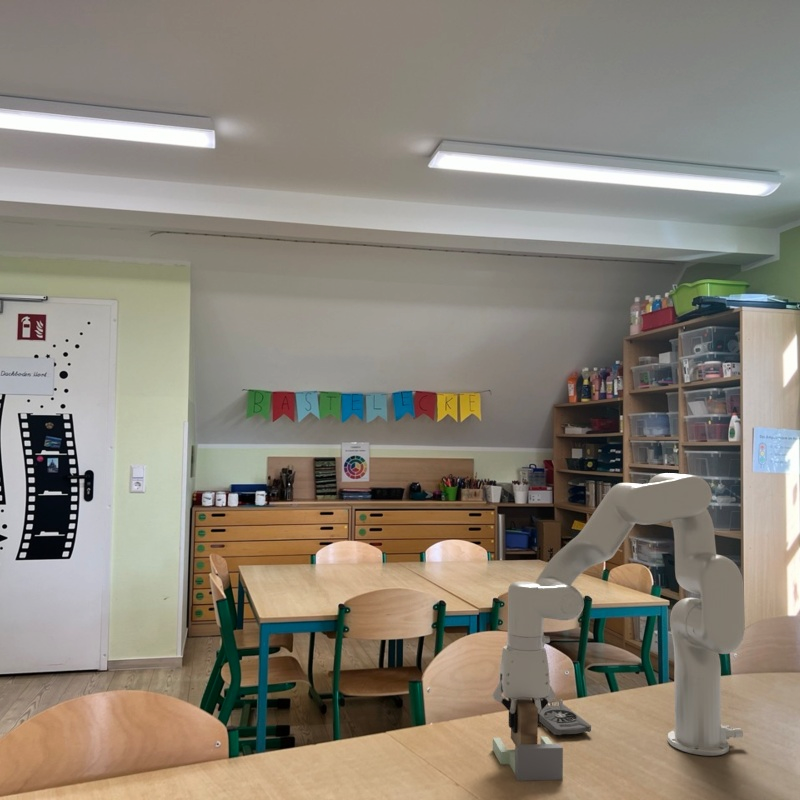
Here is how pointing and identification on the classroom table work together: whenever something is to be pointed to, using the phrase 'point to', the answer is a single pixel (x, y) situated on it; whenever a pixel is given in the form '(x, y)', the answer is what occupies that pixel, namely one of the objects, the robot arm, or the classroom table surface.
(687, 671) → the robot arm
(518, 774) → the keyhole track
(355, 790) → the classroom table surface
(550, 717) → the graphics card
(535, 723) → the brown wooden block
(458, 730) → the classroom table surface
